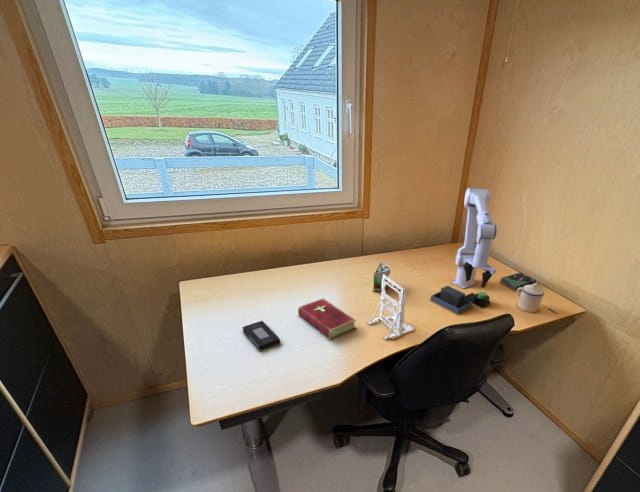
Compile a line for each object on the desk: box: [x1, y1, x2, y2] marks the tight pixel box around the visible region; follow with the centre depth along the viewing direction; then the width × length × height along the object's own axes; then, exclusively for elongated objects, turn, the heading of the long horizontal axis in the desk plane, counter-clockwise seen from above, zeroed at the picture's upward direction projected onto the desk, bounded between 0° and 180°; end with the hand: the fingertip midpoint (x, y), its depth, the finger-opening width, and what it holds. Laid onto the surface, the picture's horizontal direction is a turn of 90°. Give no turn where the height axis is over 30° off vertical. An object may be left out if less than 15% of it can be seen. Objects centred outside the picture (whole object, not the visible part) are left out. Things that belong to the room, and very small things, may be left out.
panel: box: [465, 292, 492, 309], centre depth 160 cm, size 6×10×4 cm, turn 43°
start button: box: [478, 291, 488, 299], centre depth 158 cm, size 4×4×2 cm
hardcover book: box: [297, 298, 357, 341], centre depth 139 cm, size 12×21×4 cm, turn 43°
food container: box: [373, 262, 391, 293], centre depth 164 cm, size 12×6×10 cm, turn 168°
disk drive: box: [499, 272, 537, 291], centre depth 179 cm, size 10×3×15 cm
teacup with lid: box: [516, 283, 545, 313], centre depth 157 cm, size 12×9×12 cm
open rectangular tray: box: [430, 290, 474, 315], centre depth 158 cm, size 10×15×2 cm
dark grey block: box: [440, 285, 467, 308], centre depth 156 cm, size 5×10×6 cm, turn 43°
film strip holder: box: [367, 274, 415, 341], centre depth 135 cm, size 14×14×20 cm
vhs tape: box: [242, 320, 281, 352], centre depth 128 cm, size 8×14×2 cm, turn 40°
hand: (475, 283), depth 153 cm, fingers open, 7 cm apart
